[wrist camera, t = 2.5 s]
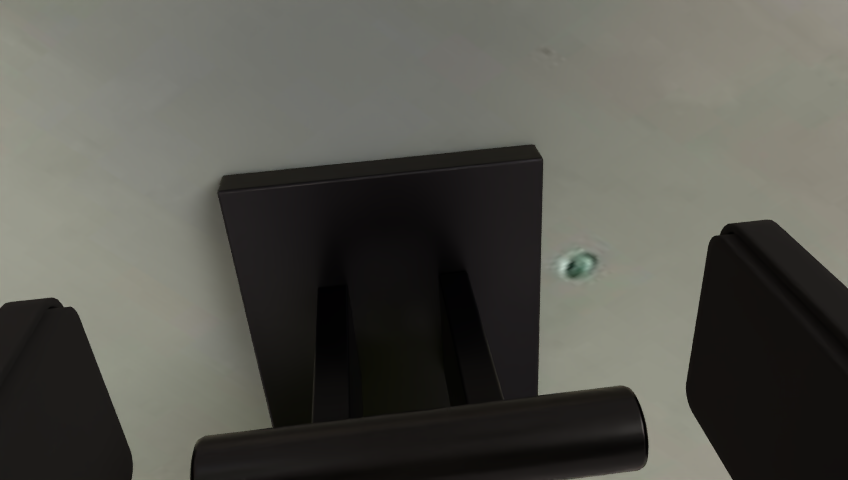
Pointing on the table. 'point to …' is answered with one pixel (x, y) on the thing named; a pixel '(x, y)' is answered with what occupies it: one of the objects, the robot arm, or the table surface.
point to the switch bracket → (390, 281)
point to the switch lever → (444, 443)
